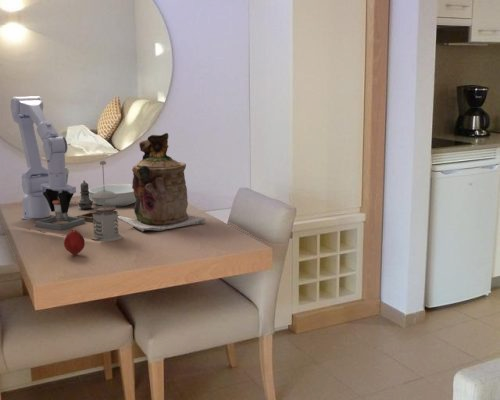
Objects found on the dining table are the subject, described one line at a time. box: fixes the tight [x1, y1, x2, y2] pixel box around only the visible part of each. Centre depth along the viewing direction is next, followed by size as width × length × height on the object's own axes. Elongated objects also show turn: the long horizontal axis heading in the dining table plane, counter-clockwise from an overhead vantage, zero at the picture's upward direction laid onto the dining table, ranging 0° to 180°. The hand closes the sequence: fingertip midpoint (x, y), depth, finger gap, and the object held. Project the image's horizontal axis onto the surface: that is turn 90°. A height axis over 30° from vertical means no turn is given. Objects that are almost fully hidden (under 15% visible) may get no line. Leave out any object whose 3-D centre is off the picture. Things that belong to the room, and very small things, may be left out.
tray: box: [34, 215, 86, 231], centre depth 210 cm, size 12×12×2 cm
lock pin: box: [52, 198, 69, 222], centre depth 209 cm, size 5×5×7 cm
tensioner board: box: [74, 210, 120, 223], centre depth 221 cm, size 13×13×4 cm
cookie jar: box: [117, 132, 207, 232], centre depth 214 cm, size 25×25×32 cm
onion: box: [63, 228, 86, 256], centre depth 177 cm, size 6×6×8 cm
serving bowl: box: [88, 183, 136, 208], centre depth 244 cm, size 21×21×7 cm
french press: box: [91, 160, 123, 242], centre depth 196 cm, size 10×12×25 cm
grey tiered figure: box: [77, 180, 94, 210], centre depth 233 cm, size 6×6×12 cm
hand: (59, 211), depth 209 cm, fingers closed on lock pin, 4 cm apart
